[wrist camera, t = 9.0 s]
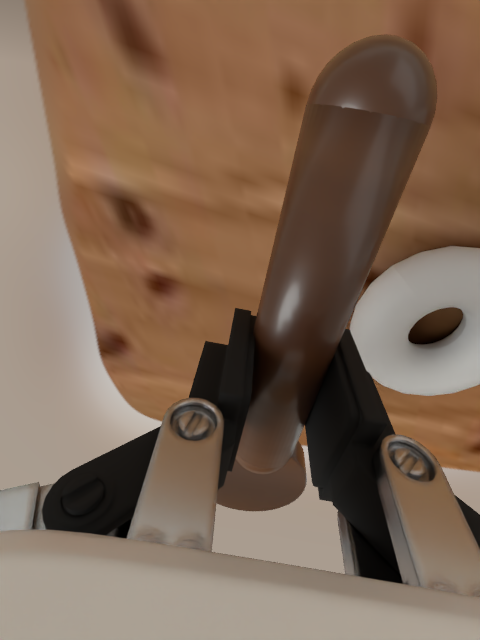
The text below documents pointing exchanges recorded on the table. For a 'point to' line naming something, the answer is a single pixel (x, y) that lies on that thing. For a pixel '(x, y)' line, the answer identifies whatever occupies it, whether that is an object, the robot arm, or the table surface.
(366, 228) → the spoon
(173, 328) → the table surface
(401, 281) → the donut
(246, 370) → the robot arm
